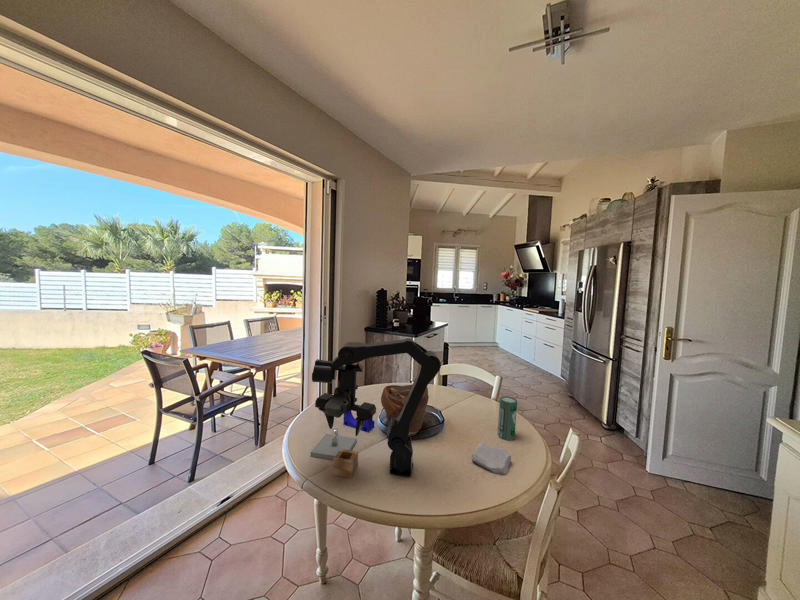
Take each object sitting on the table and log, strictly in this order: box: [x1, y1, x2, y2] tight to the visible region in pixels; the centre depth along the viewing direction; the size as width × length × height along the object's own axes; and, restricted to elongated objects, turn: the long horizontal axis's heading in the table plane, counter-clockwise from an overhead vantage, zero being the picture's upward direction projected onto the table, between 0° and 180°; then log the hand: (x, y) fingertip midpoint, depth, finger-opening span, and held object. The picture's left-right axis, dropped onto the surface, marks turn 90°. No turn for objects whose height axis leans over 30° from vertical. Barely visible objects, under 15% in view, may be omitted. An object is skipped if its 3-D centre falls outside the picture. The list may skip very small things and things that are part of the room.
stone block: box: [471, 443, 512, 476], centre depth 101 cm, size 12×5×10 cm
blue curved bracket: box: [342, 410, 375, 433], centre depth 122 cm, size 12×4×6 cm, turn 63°
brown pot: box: [380, 384, 430, 437], centre depth 121 cm, size 18×20×18 cm
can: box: [497, 395, 518, 441], centre depth 118 cm, size 6×6×15 cm
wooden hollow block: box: [332, 449, 359, 479], centre depth 94 cm, size 6×6×5 cm
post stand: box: [310, 427, 358, 461], centre depth 105 cm, size 12×12×7 cm
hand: (343, 431), depth 95 cm, fingers open, 9 cm apart
